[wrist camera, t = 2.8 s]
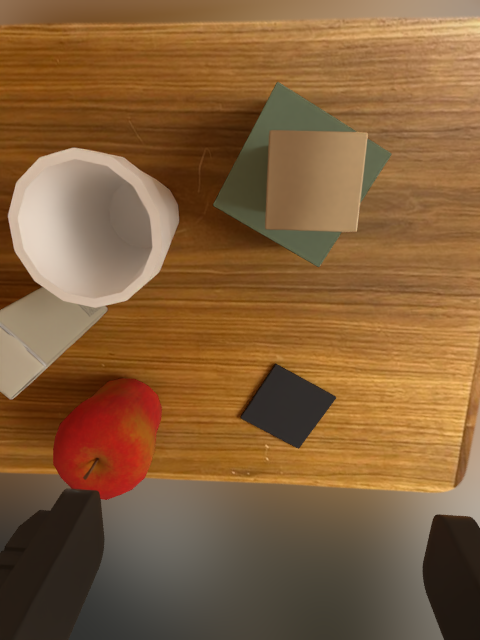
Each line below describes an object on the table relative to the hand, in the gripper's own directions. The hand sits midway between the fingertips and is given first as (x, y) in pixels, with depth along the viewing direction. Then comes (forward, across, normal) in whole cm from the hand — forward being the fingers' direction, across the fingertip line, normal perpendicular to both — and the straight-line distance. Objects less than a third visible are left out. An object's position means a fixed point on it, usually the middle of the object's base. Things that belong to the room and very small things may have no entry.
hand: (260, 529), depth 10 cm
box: (+30, +18, +4) cm, 36 cm away
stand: (+30, -2, -8) cm, 31 cm away
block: (+23, -2, -8) cm, 25 cm away
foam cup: (+30, +11, -4) cm, 33 cm away
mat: (+30, -3, +14) cm, 33 cm away
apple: (+30, +13, +15) cm, 36 cm away
